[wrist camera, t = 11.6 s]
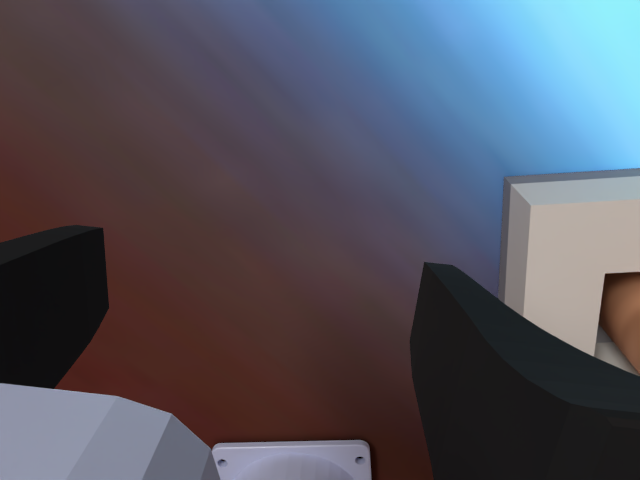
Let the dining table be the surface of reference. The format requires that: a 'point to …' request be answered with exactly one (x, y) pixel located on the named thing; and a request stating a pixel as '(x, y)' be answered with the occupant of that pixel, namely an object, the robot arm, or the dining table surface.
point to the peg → (622, 313)
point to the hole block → (569, 251)
